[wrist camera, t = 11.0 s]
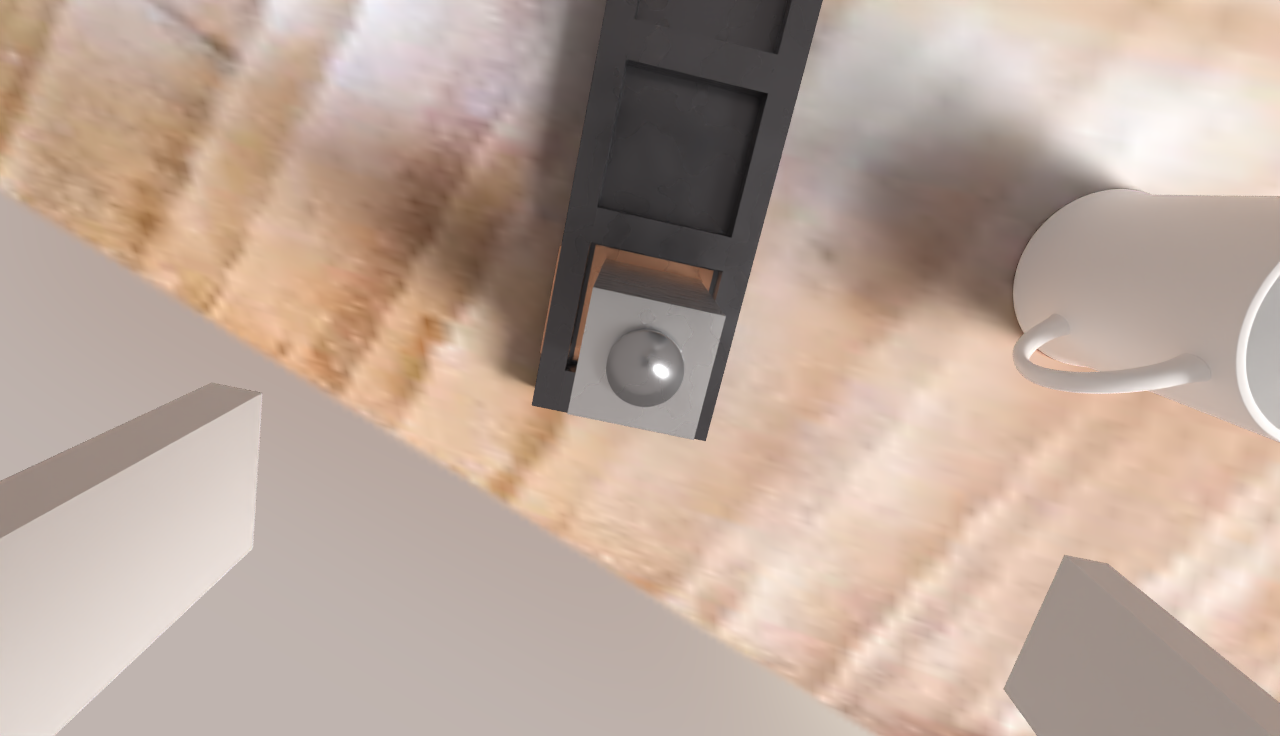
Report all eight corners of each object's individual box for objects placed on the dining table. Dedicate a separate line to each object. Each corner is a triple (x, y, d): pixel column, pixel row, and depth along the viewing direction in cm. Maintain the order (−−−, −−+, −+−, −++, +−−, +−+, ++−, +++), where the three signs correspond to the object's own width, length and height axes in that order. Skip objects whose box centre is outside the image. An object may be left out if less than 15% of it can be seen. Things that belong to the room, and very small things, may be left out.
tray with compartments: (645, -187, 26) (645, -225, 24) (846, -133, 27) (867, -165, 24) (537, 388, 33) (529, 404, 30) (701, 422, 33) (706, 441, 31)
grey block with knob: (605, 258, 30) (591, 289, 21) (699, 279, 30) (728, 319, 21) (586, 350, 31) (565, 418, 22) (677, 370, 31) (695, 445, 22)
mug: (960, 402, 33) (1135, 517, 21) (931, 240, 31) (1109, 270, 19) (1195, 337, 32) (1509, 420, 21) (1182, 165, 30) (1527, 150, 18)
